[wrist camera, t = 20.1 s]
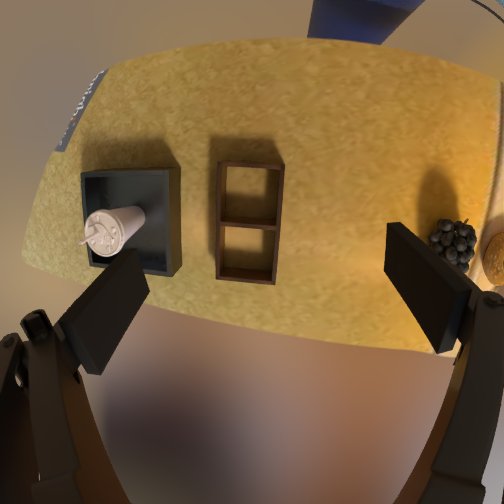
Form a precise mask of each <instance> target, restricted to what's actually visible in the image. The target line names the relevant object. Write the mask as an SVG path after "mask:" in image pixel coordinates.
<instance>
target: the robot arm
mask: <svg viewBox="0 0 504 504" xmlns="http://www.w3.org/2000/svg"><path fill="white" fill-rule="evenodd" d="M472 1H474V2H475V3H477V4H479V5H480V6H482V7H484V8H485V9H487V10H488V11H490V12H491V13H492V14H494V15H495V16H496V17H497V18H498V19H500V20H501V21H502V22H503V23H504V20H503V19H502V18H501V17H500V16H499V15H497V14H496V13H495V12H494V11H492V10H491V9H490V8H488V7H487V6H485V5H484V4H482V3H480V2H479V1H477V0H472ZM497 2H498V3H499V4H501V6H503V7H504V0H497ZM384 272H385V273H386V275H387V276H388V278H389V279H390V281H391V282H392V284H393V285H394V286H395V288H396V289H397V291H398V292H399V294H400V295H401V297H402V298H403V300H404V301H405V303H406V304H407V306H408V308H409V309H410V311H411V312H412V314H413V315H414V317H415V318H416V320H417V322H418V323H419V325H420V327H421V328H422V330H423V331H424V333H425V335H426V336H427V338H428V340H429V341H430V343H431V345H432V346H433V348H434V350H435V352H436V353H437V354H439V353H443V352H447V351H450V350H453V347H454V345H455V342H456V339H457V338H458V339H459V341H460V342H461V347H460V349H459V352H458V354H457V357H456V359H455V362H454V364H453V365H455V367H454V370H453V374H452V377H451V380H450V383H449V387H448V389H447V393H446V395H445V399H444V401H443V404H442V407H441V410H440V412H439V414H438V417H437V419H436V422H435V424H434V427H433V429H432V431H431V434H430V436H429V438H428V441H427V443H426V445H425V447H424V449H423V451H422V453H421V455H420V458H419V460H418V461H417V463H416V465H415V467H414V469H413V471H412V473H411V475H410V476H409V478H408V480H407V482H406V484H405V485H404V487H403V489H402V490H401V492H400V494H399V495H398V497H397V499H396V500H395V502H394V503H393V504H482V503H483V500H484V496H485V493H486V491H485V487H484V486H483V485H482V484H481V480H482V476H483V473H484V470H485V467H486V464H487V461H488V458H489V454H490V450H491V447H492V443H493V439H494V435H495V431H496V427H497V422H498V417H499V412H500V407H501V400H502V395H503V387H504V298H503V297H502V296H501V295H499V294H498V293H495V292H492V291H482V290H481V289H480V288H479V287H478V286H477V285H476V284H475V283H474V282H473V281H472V280H471V279H470V278H467V276H466V275H465V274H464V273H462V271H461V270H460V269H459V268H458V267H457V266H456V265H454V264H452V263H450V262H448V261H444V260H443V259H441V258H440V257H439V256H438V255H437V254H436V253H435V252H434V251H433V250H432V249H431V248H429V247H428V246H427V245H426V244H425V243H424V242H423V241H422V240H420V239H419V238H418V237H417V236H416V235H415V234H414V233H412V232H411V231H410V230H409V229H408V228H407V227H405V226H404V225H403V224H402V223H401V222H393V223H387V234H386V250H385V262H384ZM149 292H150V290H149V287H148V284H147V281H146V278H145V275H144V271H143V268H142V265H141V262H140V258H139V255H138V251H137V248H130V249H124V250H123V251H122V252H121V253H120V254H119V255H118V256H117V257H116V258H115V259H114V260H113V262H112V263H111V264H110V265H109V266H108V267H107V268H106V269H105V270H104V271H103V272H102V273H101V274H100V275H99V276H98V277H97V278H96V279H95V280H94V281H93V283H92V284H91V285H90V286H89V287H88V288H87V289H86V290H85V291H84V292H83V294H82V295H81V296H80V297H79V298H78V299H76V300H75V301H74V303H73V304H72V305H71V307H69V308H68V309H67V311H66V312H65V313H64V314H63V315H62V317H61V318H60V319H59V320H58V321H57V322H56V323H55V325H54V326H52V324H51V323H50V320H49V319H48V317H47V315H46V313H45V311H44V310H42V309H38V310H35V311H32V312H31V313H29V314H27V315H26V316H25V317H24V318H23V319H22V320H21V323H20V325H21V327H22V328H23V330H24V332H25V334H26V336H27V337H28V339H29V341H24V342H22V340H21V338H20V336H19V335H18V333H11V334H8V335H6V336H4V337H3V339H2V340H1V341H0V504H131V503H130V501H129V499H128V498H127V496H126V494H125V492H124V490H123V488H122V486H121V484H120V482H119V480H118V477H117V476H116V473H115V471H114V469H113V466H112V464H111V462H110V459H109V457H108V455H107V452H106V450H105V447H104V445H103V442H102V440H101V437H100V434H99V431H98V429H97V426H96V423H95V420H94V417H93V414H92V411H91V408H90V405H89V401H88V398H87V395H86V391H85V388H84V384H83V380H82V376H81V374H80V372H79V371H78V367H79V366H80V364H82V366H83V367H84V369H85V371H86V372H87V373H88V374H94V375H101V374H102V372H103V371H104V369H105V367H106V365H107V363H108V362H109V360H110V358H111V356H112V354H113V353H114V351H115V349H116V347H117V346H118V344H119V342H120V340H121V339H122V337H123V335H124V334H125V332H126V330H127V329H128V327H129V325H130V323H131V322H132V320H133V318H134V317H135V315H136V313H137V312H138V310H139V309H140V307H141V305H142V304H143V302H144V300H145V299H146V297H147V296H148V294H149ZM15 375H16V376H17V378H18V379H19V380H20V382H21V385H20V386H18V384H17V382H16V379H15ZM39 473H40V481H39ZM502 504H504V489H503V497H502Z"/></svg>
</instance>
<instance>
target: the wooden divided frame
mask: <svg viewBox="0 0 504 504" xmlns="http://www.w3.org/2000/svg"><path fill="white" fill-rule="evenodd" d="M227 166H230V167H251V168H267V169H280V177H279V191H278V205H277V219H276V220H272V219H260V218H247V217H233V216H225V209H226V179H227ZM284 172H285V164H278V163H264V162H246V161H219V162H218V166H217V200H216V279H217V280H227V281H237V282H247V283H257V284H268V285H275V283H276V272H277V261H278V250H279V238H280V226H281V213H282V200H283V187H284ZM225 226H229V227H242V228H255V229H267V230H276V232H275V245H274V257H273V269H272V271H262V270H251V269H240V268H229V267H224V252H225Z"/></svg>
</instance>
